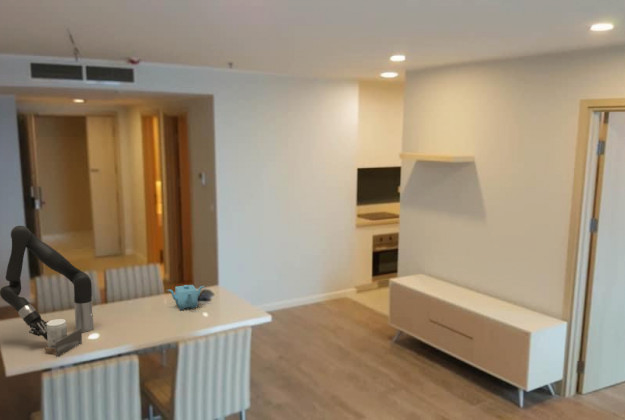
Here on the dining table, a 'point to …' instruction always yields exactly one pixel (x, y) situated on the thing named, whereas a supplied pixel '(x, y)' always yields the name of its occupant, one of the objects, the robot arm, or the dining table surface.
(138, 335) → the dining table surface
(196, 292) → the teakettle
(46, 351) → the walnut dock
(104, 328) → the dining table surface
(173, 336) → the dining table surface
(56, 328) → the supplement tub
